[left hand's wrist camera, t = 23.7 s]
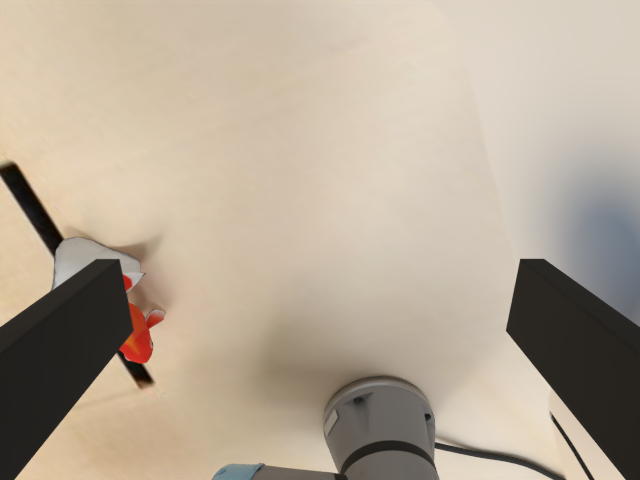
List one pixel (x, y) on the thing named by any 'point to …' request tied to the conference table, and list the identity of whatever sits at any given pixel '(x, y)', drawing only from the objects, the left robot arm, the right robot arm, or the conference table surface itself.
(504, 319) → the conference table surface
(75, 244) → the fish
